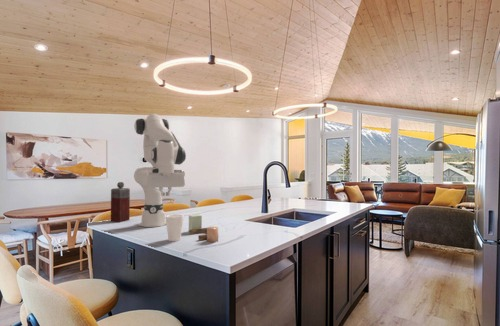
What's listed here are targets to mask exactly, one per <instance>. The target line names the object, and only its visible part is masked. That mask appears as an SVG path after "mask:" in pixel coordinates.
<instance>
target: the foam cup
mask: <svg viewBox="0 0 500 326" xmlns="http://www.w3.org/2000/svg"><path fill="white" fill-rule="evenodd" d="M184 217H185V216H184V214H179V213H174V214H173V213H172V214H167V215H165V221H166V224H167V225H166V229H167V230H166V231H167V238H168V241H169V242H178V241H180V240H181V237H182V233H183V232H182V231H183V225H184V220H185V218H184Z"/></svg>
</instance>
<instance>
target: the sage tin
mask: <svg viewBox="0 0 500 326" xmlns="http://www.w3.org/2000/svg"><path fill="white" fill-rule="evenodd" d="M202 218H203V217H202V215H201V214H189V215H188V231H189V230H192V229H201V228H203V227H202V225H203V223H202V222H203V221H202Z"/></svg>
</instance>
